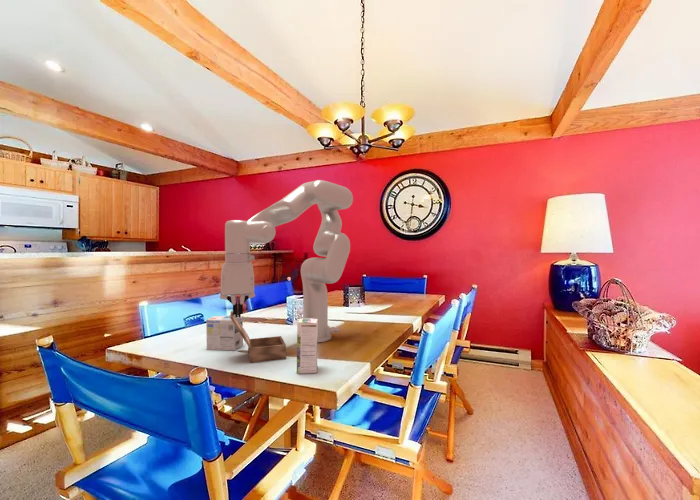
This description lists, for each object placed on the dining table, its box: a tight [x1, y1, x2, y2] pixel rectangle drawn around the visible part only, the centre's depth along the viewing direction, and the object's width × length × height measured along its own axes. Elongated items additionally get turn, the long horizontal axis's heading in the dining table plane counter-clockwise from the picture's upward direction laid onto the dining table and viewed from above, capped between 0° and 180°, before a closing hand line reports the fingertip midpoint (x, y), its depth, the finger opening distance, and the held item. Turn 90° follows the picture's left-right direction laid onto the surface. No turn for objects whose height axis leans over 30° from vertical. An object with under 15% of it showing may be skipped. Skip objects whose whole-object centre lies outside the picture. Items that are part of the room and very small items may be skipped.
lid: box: [229, 310, 251, 348], centre depth 103 cm, size 11×11×1 cm
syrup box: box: [296, 317, 319, 375], centre depth 94 cm, size 6×6×14 cm
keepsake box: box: [247, 335, 287, 364], centre depth 106 cm, size 11×11×4 cm
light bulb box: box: [205, 315, 244, 351], centre depth 115 cm, size 11×7×11 cm, turn 84°
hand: (237, 316), depth 103 cm, fingers closed
